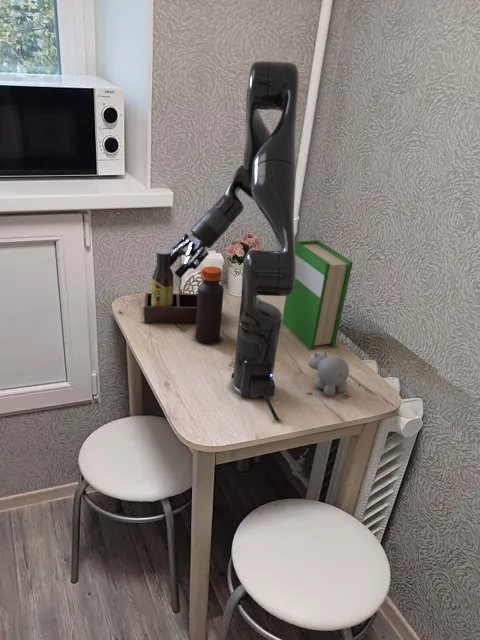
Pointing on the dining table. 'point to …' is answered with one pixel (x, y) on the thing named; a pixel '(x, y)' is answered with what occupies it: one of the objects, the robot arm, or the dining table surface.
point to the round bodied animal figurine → (330, 372)
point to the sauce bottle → (162, 280)
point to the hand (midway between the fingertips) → (171, 270)
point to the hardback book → (317, 293)
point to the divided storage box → (172, 310)
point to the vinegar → (209, 306)
